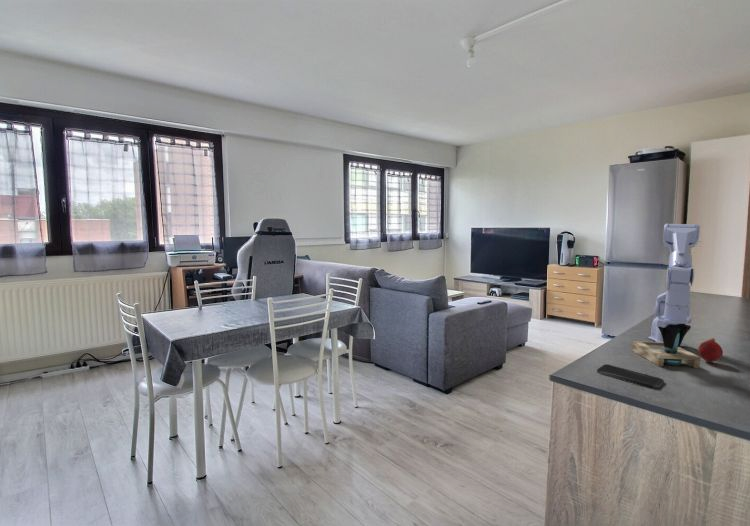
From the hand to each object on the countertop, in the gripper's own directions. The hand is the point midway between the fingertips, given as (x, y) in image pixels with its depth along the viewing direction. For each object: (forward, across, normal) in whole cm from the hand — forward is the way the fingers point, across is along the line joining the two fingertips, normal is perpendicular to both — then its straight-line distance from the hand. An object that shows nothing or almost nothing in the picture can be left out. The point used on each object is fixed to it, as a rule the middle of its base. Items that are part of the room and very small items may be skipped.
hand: (671, 347), depth 123 cm
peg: (+5, 0, 0) cm, 5 cm away
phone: (+6, +24, +3) cm, 25 cm away
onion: (+5, -12, +4) cm, 14 cm away
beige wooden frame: (+5, -2, -3) cm, 6 cm away
